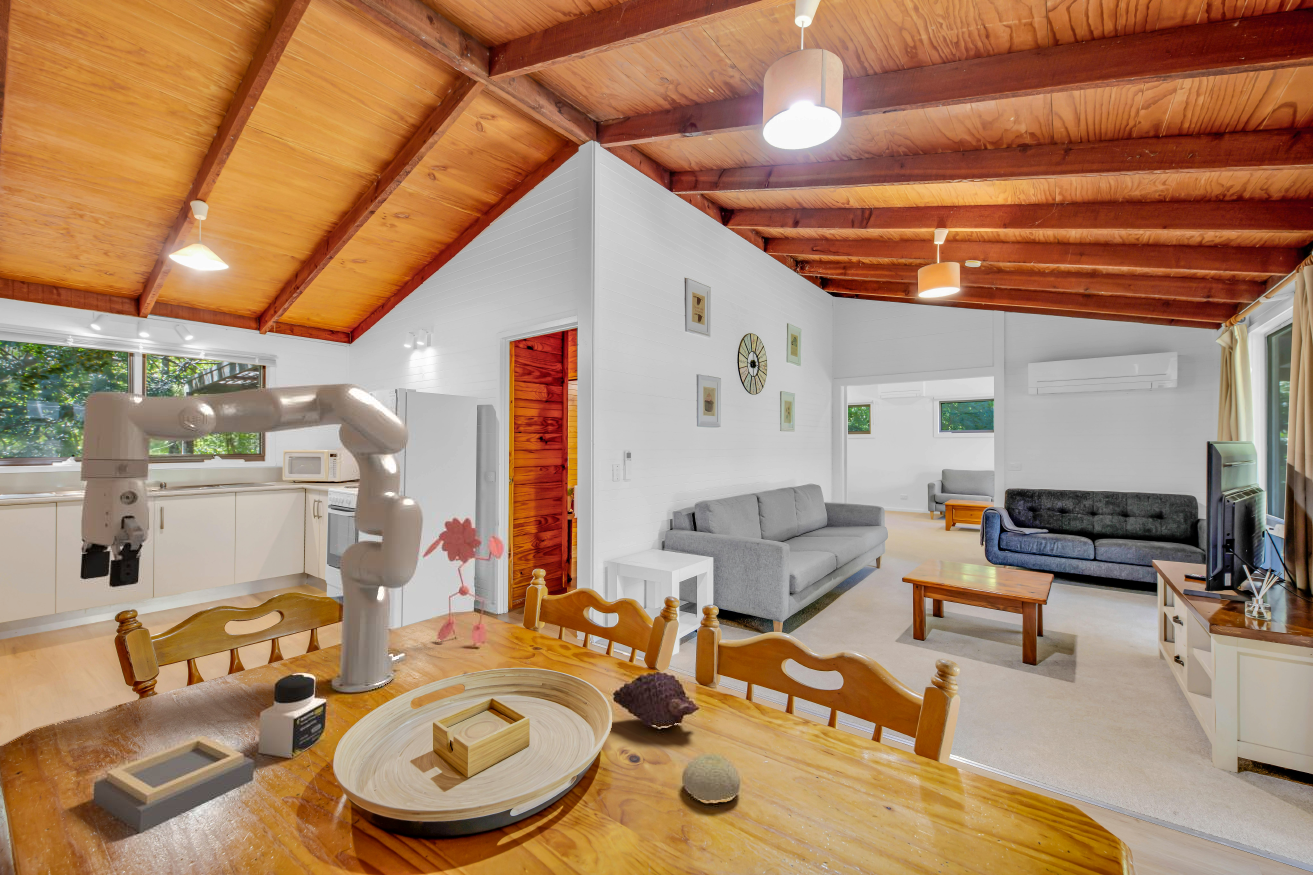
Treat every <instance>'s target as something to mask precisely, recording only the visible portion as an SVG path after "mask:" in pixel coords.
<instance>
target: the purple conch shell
mask: <svg viewBox="0 0 1313 875" xmlns="http://www.w3.org/2000/svg"><path fill="white" fill-rule="evenodd" d="M612 695H613V697H612V700H613V703H614V702H615V703H616V704H618V705H619V706H620V707H622V708H624V709H625V710H627V712H628V713H629V714H631V715H633V716H634V717H636V719H638V720H641V721H642V722H643V725H645V724H648V725H647V726H649V725H650V726H649V727H652V725H656V726H657V727H661V726H669V725H673V726H674V724H675V723H681V724H682V722H683V719H684V717H685V716H687V715H688V716H689V715H692V714H694V713H695V712H697V711H699V710H700V706H697V705H696V703H694V701H693V700H690V696H686V692H685V689H684V688H683V684H682V683H680V680H678V679H676V677H675V675H673V674H670V675H669V674H668V673H667V672H663V673H661V672H660V671H656V672H654V673H653V672H651V673H650V672H648V673H646V675H644V674H640V675H639V677H638V676H637V677H636V678H635V679H633V680H631V682H629V683H628V682H625V683H624V684H623V686H620V688H618V689H616V690H615V691H614V692H613V693H612Z"/></svg>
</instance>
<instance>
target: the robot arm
mask: <svg viewBox="0 0 1313 875" xmlns="http://www.w3.org/2000/svg"><path fill="white" fill-rule="evenodd" d="M329 425H330V426H331V425H340V427H339V430H338V436H339V440H340V442H341V444H342V446H343V447H344V448H345V449H346V450H347V451H348V452H349V453H350V454H351V455H352V457H353V459H355V462H356V463H357V466H358V469H359V481H358V482H359V483H358V488H357V489H358V490H357V494H356V502H355V508H354V509H355V510H354V518H353V522H354V523H353V524H354V525H355V528H356V529H357V530H358V531H359V532H361V533H363V534H366V535H370V536H377V537H381V538H382V539H381V541H376V540H361V541H357V542H354V543H353V544H351V545H350V546H348V547H347V548H346V549H345V550H344V552H343V554H342V556H341V559H340V561H339V562H340V564H339V572H340V577H341V578H340V579H341V585H342V594H343V596H342V597H343V599H342V600H343V602H342V603H343V604H342V606H343V607H342V619H341V620H342V623H341V644H340V645H341V646H340V647H341V649H340V666H339V668H340V672H339V674H337V675H335V676H334V677H333V678H332V680H331V688H332V689H333V690H335V691H337V692H340V693H361V692H368V691H372V689H373V690H376V689H379V688H381V686H382V687H385V686H386V685H388V684H390V683H391V682H392V681H393V680H394V679H395V670H394V669H392V667H394V666H395V664H398V663H399V664H400V663H401V662H404V661H405V660H406V654H405V653H404V652H401V653H397V654H395V655H394V654H392V653H389V641H390V638H389V636H390V635H389V634H390V617H391V616H390V612H391V597H390V592H389V589H400V588H402V587H404V586H406V585H407V584H408V583H410V581H411V580H412V578H413V577H414V575H415V573H416V570H417V567H418V562H419V556H420V555H419V554H420V548H421V540H422V532H423V524H424V523H423V522H424V519H423V518H424V517H423V515H424V514H423V512H422V511H423V510H422V508H421V506H420V504H419V503H418V501H416V500H415V499H414V498H412V497H410V496H407V495H402V494H401V495H400V484H401V469H400V464H399V462H398V459H397V457H396V455H395V454H399V453H400V452H401V451H403V450H404V449H405V448H406V447H407V445H408V442H409V430H408V428H407V426H406V424H405V422H404V421H403V420H402V419H401V418H400V417H399V416H398V415H396V414H395V413H394V412H393V411H392V410H390V409H389V408H388V407H386V406H385V404H383V403H381V401H379V400H378V399H377V398H375V397H374V396H373V395H372V394H370V393H369V392H368V391H366V390H365V389H363V388H361V387H359V386H358V385H355V384H352V383H334V384H333V383H332V384H331V383H330V384H315V385H299V386H296V385H295V386H281V387H278V386H277V387H264V388H263V387H262V388H253V389H243V390H238V391H231V392H230V391H229V392H223V393H221V392H220V393H212V394H198V395H197V394H196V395H183V396H182V395H181V396H178V395H177V396H148V395H147V396H146V395H143V394H140V393H139V394H138V393H133V392H132V393H131V392H122V391H118V392H117V391H96V392H92V393H90V394H89V395H88V396H87V397H86V399H85V404H84V418H83V434H82V435H83V437H82V450H81V451H82V452H81V466H80V469H81V470H80V481H81V482H82V481H83V482H86V484H85V485H86V486H85V489H84V497H83V504H82V513H81V524H80V525H81V530H80V533H81V541H82V542H83V543H82V545H81V549H80V550H81V562H80V579H82V580H90V579H96V578H104V577H107V576H109V580H108V581H109V582H108V583H109V584H108V586H109V587H110V588H111V587H112V588H116V587H124V586H131V585H136V584H138V583H139V579H140V578H139V576H140V575H139V574H140V558H141V556H142V552H141V550H142V548H143V546H144V545H143V543H145V542H146V541H147V539H148V536H149V509H148V508H149V506H148V505H149V504H148V503H149V502H148V501H149V500H148V492H147V491H148V490H147V484H146V481H148V480H149V478H148V477H149V476H148V475H149V464H150V462H149V461H150V444H151V440H153V441H162V442H163V441H170V442H171V441H172V442H191V441H196V440H199V439H202V438H204V437H206V436H208V435H216V434H217V435H218V434H219V435H220V434H232V433H234V434H240V433H241V434H261V433H263V434H264V433H275V432H282V431H289V430H298V429H305V428H315V427H319V426H322V427H323V426H329ZM109 547H110V549H111V550H108V548H109ZM121 547H122V548H121ZM111 552H112V556H113V559H111ZM393 678H394V679H393ZM392 679H393V680H392ZM391 680H392V681H391ZM390 681H391V682H390ZM389 682H390V683H389ZM387 683H388V684H387ZM385 684H386V685H385ZM378 687H379V688H378ZM375 688H376V689H375Z"/></svg>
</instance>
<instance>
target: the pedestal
mask: <svg viewBox="0 0 1313 875" xmlns="http://www.w3.org/2000/svg"><path fill="white" fill-rule="evenodd" d="M254 764H255V760H253V759H252V758H249V757H247V756H245V755H244V753H242V752H239V751H238V750H235V749H233V748H231V747H228V746H226V745H224V744H222V743H220V742H218V741H215V740H213V739H211V738H208V737H207V736H205V735H201V736H199V737H196V738H193V739H190V740H187V741H185V742H183V743H180V744H177V745H175V746H172V747H169V748H166V749H164V750H161V751H158V752H155V753H153V754H151V755H148V756H145V757H142V758H140V759H137V760H135V761H132V762H129V763H126V764H124V765H121V766H119V767H116V768H113V769H110V770H108V771H106V776H105V777H103V778H100V779H98V780H95V781H94V782H93V796H92V797H93V799H92V800H93V801H92V803H93V804H95V805H96V806H97V807H99V808H100V809H103V810H104V811H106V813H108V814H110V815H111V816H113V817H114V816H115V817H114V818H116V819H117V818H118V819H117V820H119V819H120V820H121V821H120V820H119V821H120V822H122V823H124V824H125V823H126V824H125V825H127V826H128V825H129V826H128V827H130V828H131V829H133V830H134V831H136V832H137V833H139V834H141V833H143V832H145V831H147V830H150V829H152V828H154V827H156V826H158V825H160V824H162V823H165V822H166V821H169V820H171V819H173V818H175V817H178V816H179V814H180V815H182V814H184V813H186V812H187V811H188V812H189V811H190V810H192V809H194V808H196V807H199V806H200V805H202V804H205V803H207V802H209V801H212V800H214V799H215V798H218V797H220V796H222V795H223V794H226V793H228V792H231V791H233V790H235V789H237V788H240V787H241V786H243V785H245V784H247V783H249V782H251V781H253V780H254V769H255V767H254ZM181 813H182V814H181ZM177 815H178V816H177ZM170 818H171V819H170Z"/></svg>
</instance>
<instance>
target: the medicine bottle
mask: <svg viewBox="0 0 1313 875" xmlns="http://www.w3.org/2000/svg"><path fill="white" fill-rule="evenodd" d="M315 689H316V677H315V676H314V675H313V674H310V673H306V672H305V673H304V672H301V673H299V672H298V673H293V674H289V675H286V676H284V677H282V678H280V679H278V680H277V681H276V682H275V684H274V692H273V693H274V694H273V705H272V706H270V707H268V708H266V709H264V710H262V711H261V712H260V713H259V734H258V749H257V750H258V754H260V755H261V754H262V755H268V756H275V757H279V758H280V757H281V758H287V759H294V758H296V757H297V756H298V755H300V754H302V753H304V752H305V751H307V750H308V749H310V748H311V747H313V746H315V745H316V744H318V743H320V742H321V741H323V740H324V739H325V737H326V716H327V715H326V714H327V712H326V711H327V700H326V699H325V698H318V697H315V695H316V692H315V691H316V690H315Z"/></svg>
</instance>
